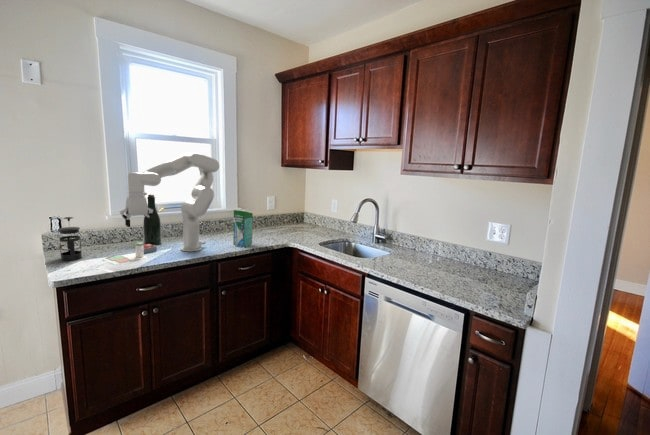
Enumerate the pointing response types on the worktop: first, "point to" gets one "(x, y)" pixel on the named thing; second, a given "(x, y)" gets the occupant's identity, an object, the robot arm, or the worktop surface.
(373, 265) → the worktop surface
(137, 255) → the translucent whitish cylinder
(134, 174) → the robot arm
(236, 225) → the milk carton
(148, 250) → the button housing
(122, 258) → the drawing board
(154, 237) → the green wine bottle
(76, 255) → the french press
